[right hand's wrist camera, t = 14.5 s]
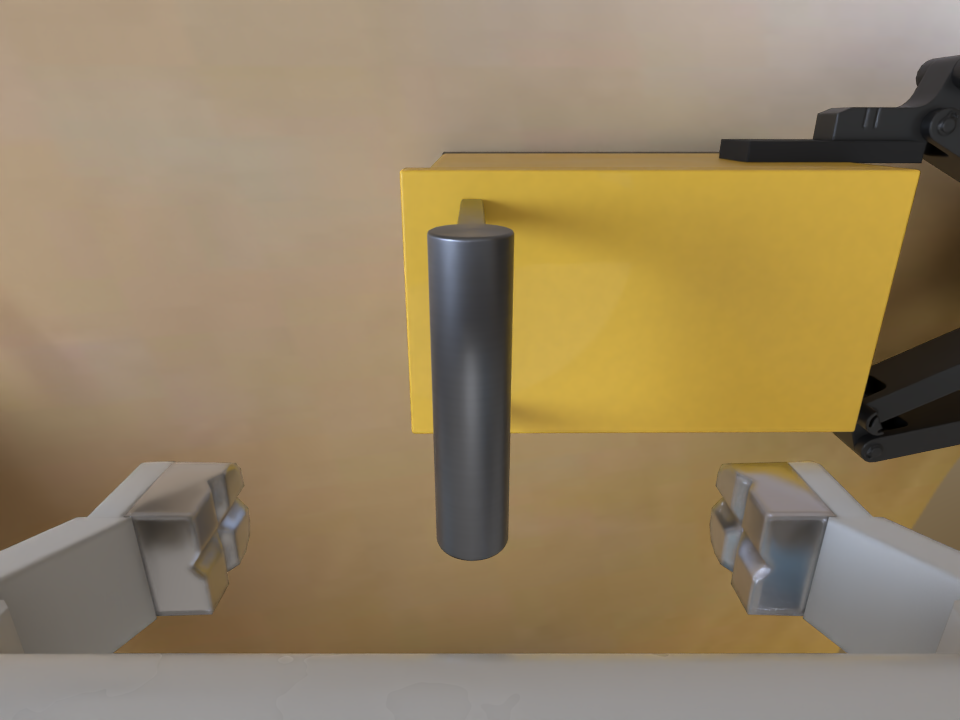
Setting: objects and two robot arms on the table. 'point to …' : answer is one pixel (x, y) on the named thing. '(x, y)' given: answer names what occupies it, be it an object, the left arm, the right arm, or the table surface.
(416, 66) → the table surface
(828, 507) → the right robot arm
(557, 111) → the table surface
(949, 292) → the table surface
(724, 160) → the chest
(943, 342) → the left robot arm
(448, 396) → the lid
